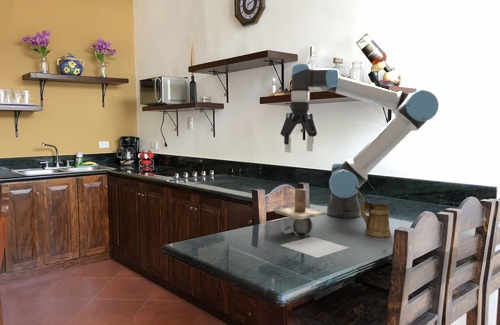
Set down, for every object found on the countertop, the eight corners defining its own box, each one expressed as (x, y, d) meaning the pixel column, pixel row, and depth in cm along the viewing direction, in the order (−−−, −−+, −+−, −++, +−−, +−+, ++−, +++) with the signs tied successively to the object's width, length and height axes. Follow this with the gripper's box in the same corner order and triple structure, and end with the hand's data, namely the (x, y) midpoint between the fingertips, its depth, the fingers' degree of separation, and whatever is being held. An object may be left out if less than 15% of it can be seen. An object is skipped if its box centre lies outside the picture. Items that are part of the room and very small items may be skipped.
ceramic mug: (307, 230, 153) (307, 210, 152) (312, 236, 145) (313, 215, 144) (280, 231, 152) (280, 211, 151) (283, 237, 144) (284, 216, 143)
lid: (300, 208, 157) (301, 185, 156) (325, 214, 146) (326, 190, 145) (275, 212, 149) (275, 188, 148) (299, 219, 138) (300, 193, 138)
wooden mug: (351, 230, 155) (353, 184, 153) (388, 231, 153) (390, 185, 151) (354, 236, 146) (356, 187, 144) (393, 238, 144) (395, 188, 142)
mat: (312, 238, 143) (312, 236, 143) (349, 249, 131) (349, 247, 131) (279, 246, 132) (279, 245, 132) (317, 259, 120) (317, 257, 120)
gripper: (312, 103, 180) (311, 150, 182) (272, 100, 164) (271, 152, 166) (326, 102, 174) (324, 151, 176) (285, 99, 158) (284, 153, 160)
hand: (298, 151), depth 171 cm, fingers open, 13 cm apart
